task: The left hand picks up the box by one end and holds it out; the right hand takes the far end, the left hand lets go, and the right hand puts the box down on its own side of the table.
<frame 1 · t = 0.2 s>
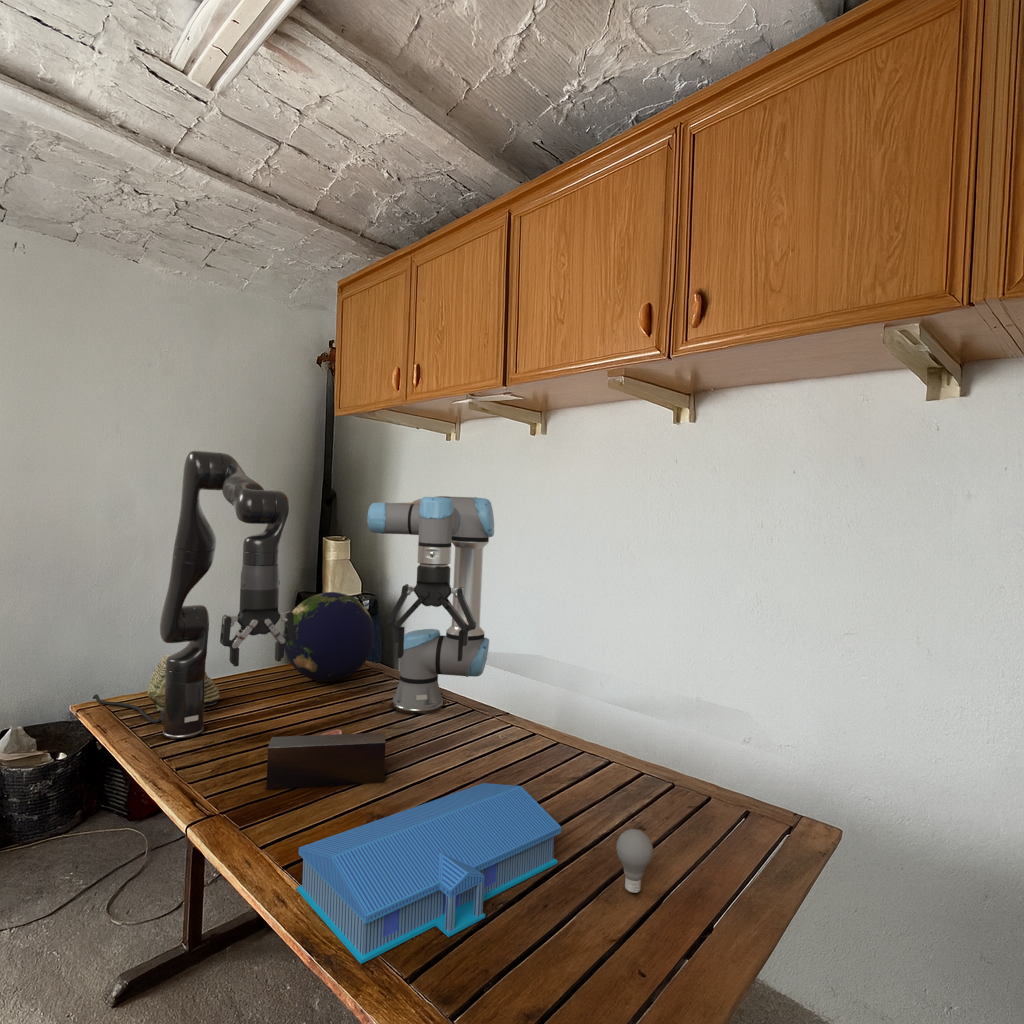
left hand: (257, 663, 132), 28 cm above the table, tool pointing down, fingers open, 8 cm apart
right hand: (430, 658, 144), 28 cm above the table, tool pointing down, fingers open, 13 cm apart
model building: (438, 880, 106), on the table
fossil: (183, 706, 185), on the table
light bulb: (632, 891, 106), on the table
globe: (328, 680, 217), on the table
anatomical model: (312, 750, 158), on the table
box: (327, 779, 142), on the table
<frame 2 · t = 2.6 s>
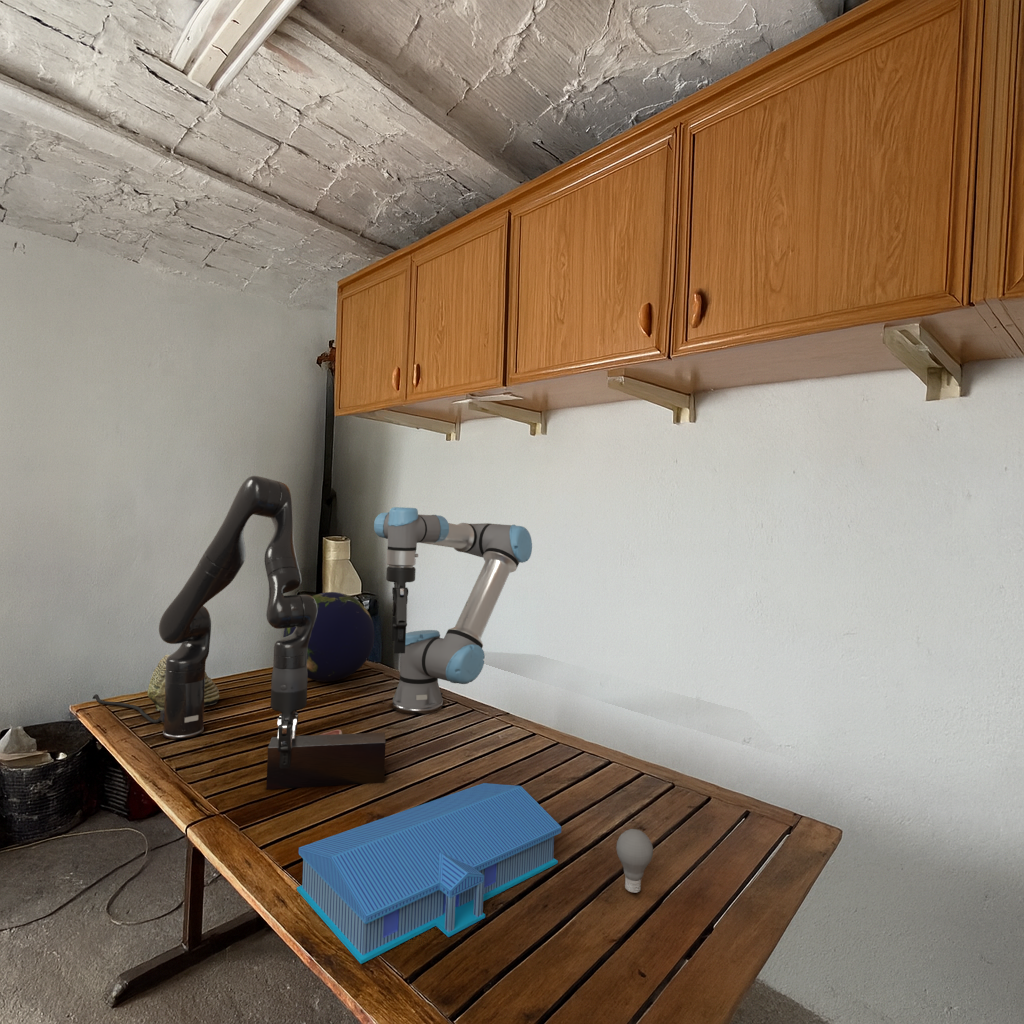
left hand: (286, 760, 140), 5 cm above the table, tool pointing down, fingers closed on box, 6 cm apart
right hand: (397, 646, 166), 25 cm above the table, tool pointing down, fingers open, 13 cm apart
box: (327, 779, 142), on the table, touching left hand
everything else where it was.
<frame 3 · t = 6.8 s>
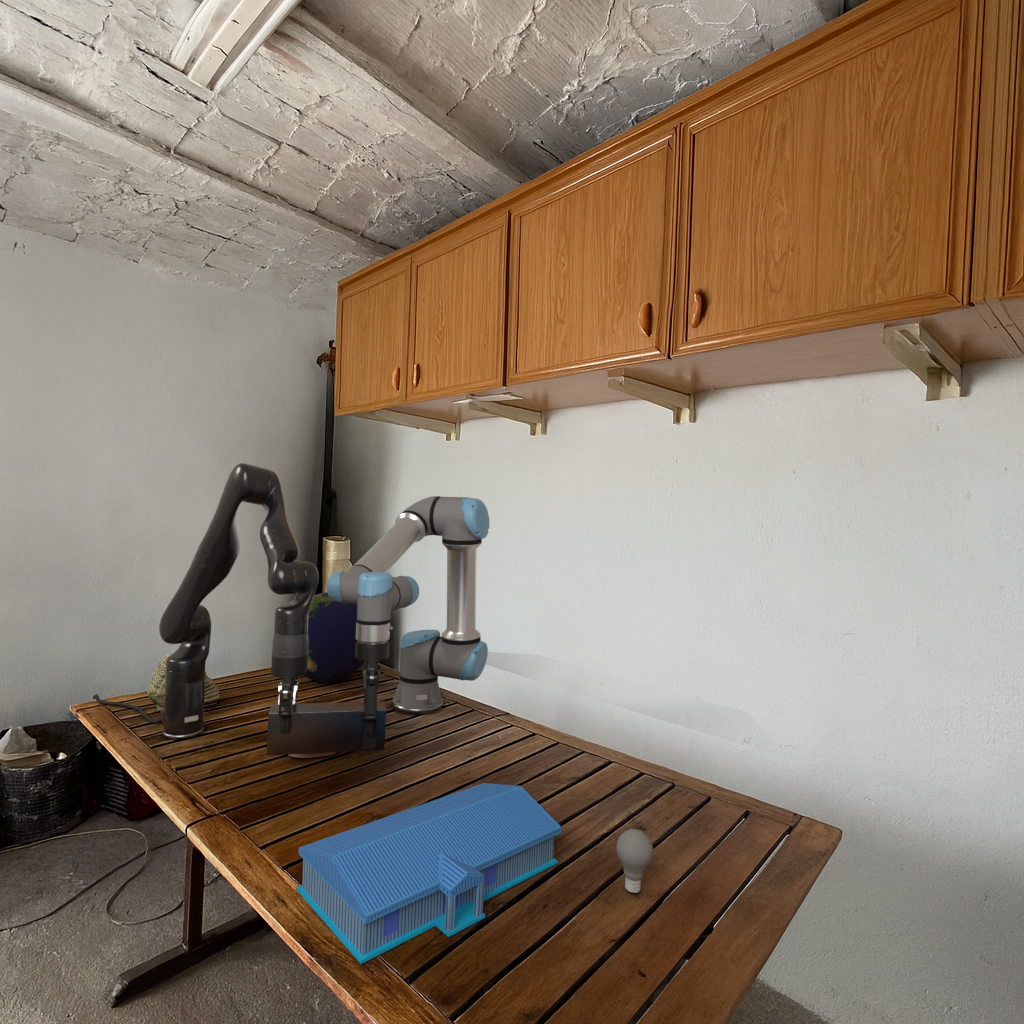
left hand: (287, 727, 139), 12 cm above the table, tool pointing down, fingers closed on box, 6 cm apart
right hand: (368, 742, 144), 8 cm above the table, tool pointing down, fingers closed on box, 6 cm apart
box: (327, 747, 142), point 7 cm above the table, touching left hand, right hand
everything else where it was.
when the left hand's fingers open (12 cm above the table, at t = 7.8 s): box moves 1 cm, held by the right hand.
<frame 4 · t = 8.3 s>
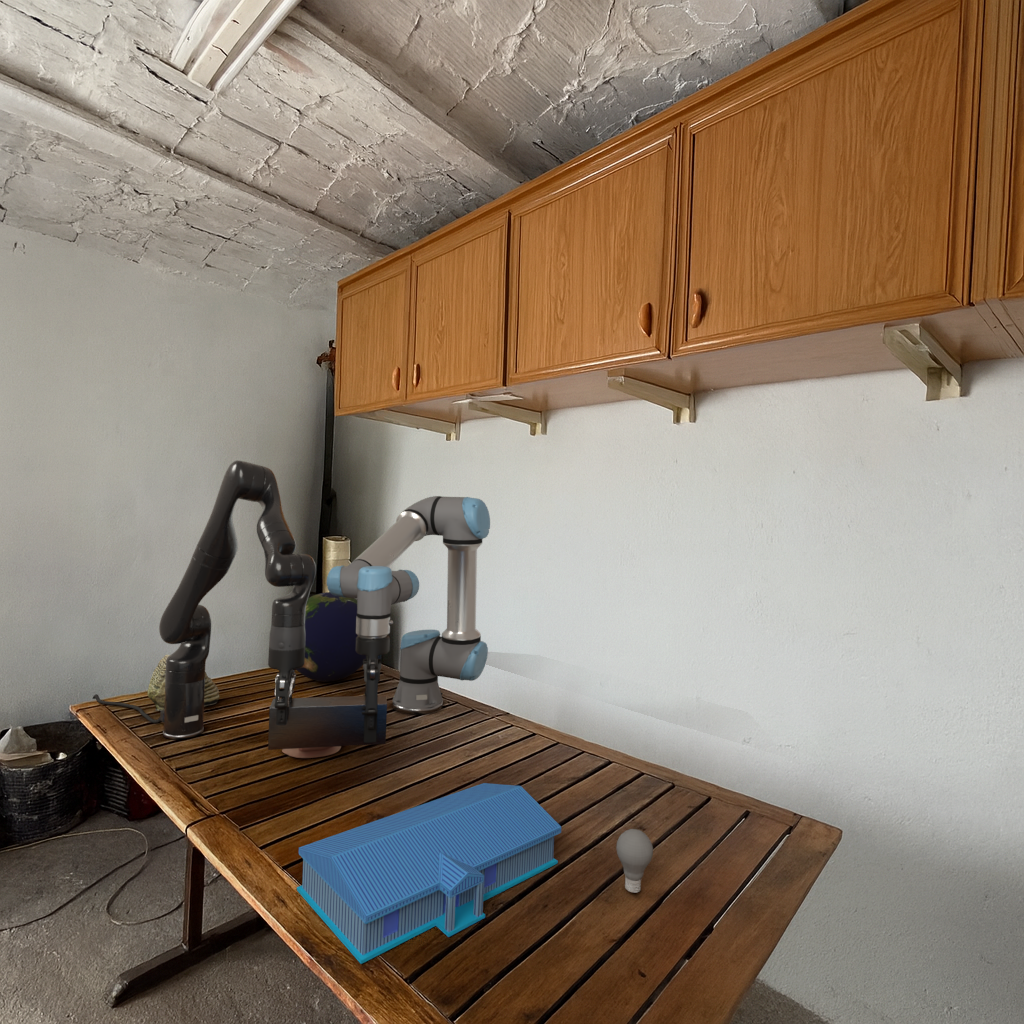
left hand: (283, 717, 139), 14 cm above the table, tool pointing down, fingers open, 8 cm apart
right hand: (369, 735, 144), 9 cm above the table, tool pointing down, fingers closed on box, 6 cm apart
box: (328, 741, 142), point 9 cm above the table, touching right hand
everything else where it was.
when the right hand's fingers open (1 cm above the table, at t = 14.6 s): box stays where it is, on the table.
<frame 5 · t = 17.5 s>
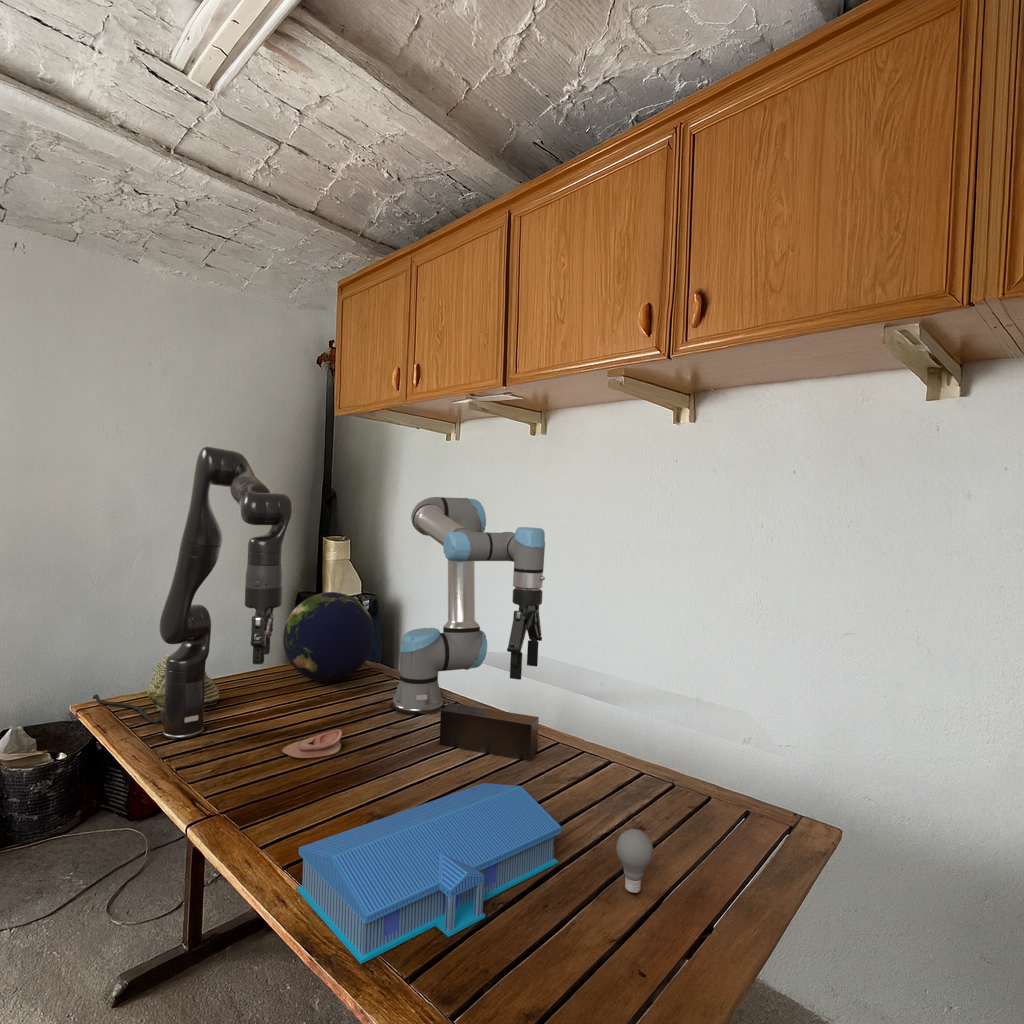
left hand: (261, 658, 138), 27 cm above the table, tool pointing down, fingers open, 8 cm apart
right hand: (524, 672, 160), 21 cm above the table, tool pointing down, fingers open, 13 cm apart
box: (487, 748, 164), on the table
everything else where it was.
at the end: box inside the target area (8.9 cm from its centre), on the table; the left hand is holding nothing; the right hand is holding nothing; box at rest at the end (0.0 cm/s) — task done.
